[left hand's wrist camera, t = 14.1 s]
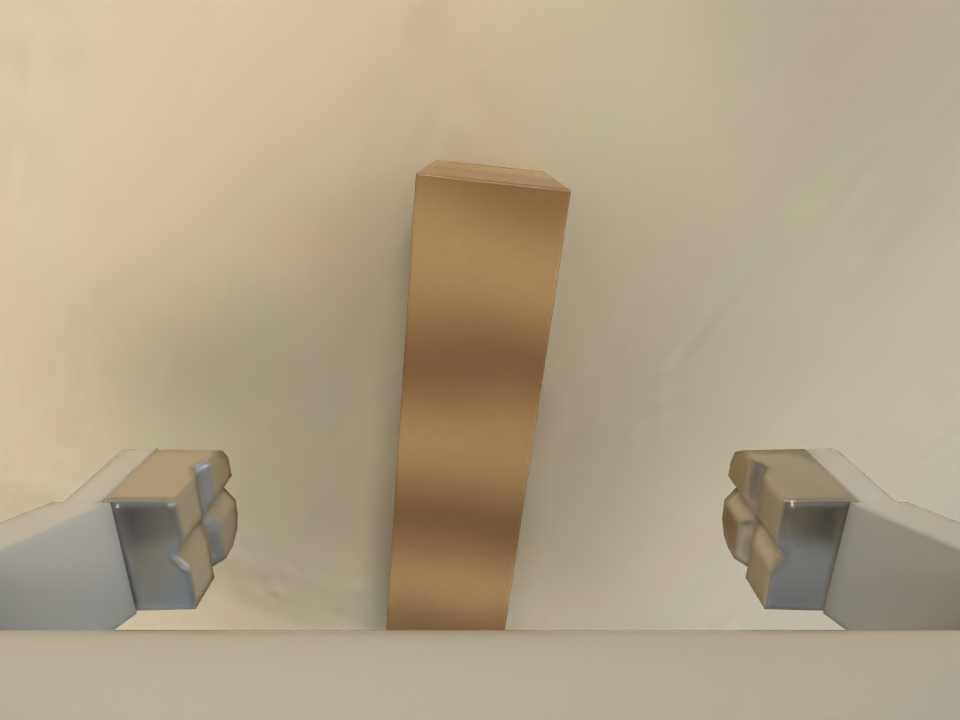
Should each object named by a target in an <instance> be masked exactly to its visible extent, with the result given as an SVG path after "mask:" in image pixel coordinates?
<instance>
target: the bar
mask: <svg viewBox="0 0 960 720" xmlns="http://www.w3.org/2000/svg"><path fill="white" fill-rule="evenodd" d="M570 193H571V191H570V189H568V188H567V187H565V186H564V185H562V184H561V183H559V182H558V181H556V180H555V179H553V178H552V177H550V176H549V175H548V174H546V173H545V172H540V171H531V170H521V169H512V168H503V167H494V166H485V165H476V164H466V163H457V162H448V161H439V160H436V161H434V162H433V163H431V164H430V165H428V166H427V167H425V168H424V169H422V170H421V171H420V172H418V173H417V174H416V183H415V199H414V214H413V229H412V245H411V260H410V275H409V291H408V306H407V321H406V337H405V352H404V367H403V383H402V398H401V413H400V429H399V444H398V459H397V474H396V490H395V505H394V520H393V536H392V551H391V566H390V582H389V597H388V612H387V628H386V630H505V625H506V619H507V612H508V605H509V599H510V592H511V585H512V579H513V572H514V565H515V559H516V552H517V545H518V539H519V532H520V525H521V519H522V512H523V505H524V499H525V492H526V485H527V479H528V472H529V465H530V459H531V452H532V445H533V439H534V432H535V426H536V419H537V412H538V406H539V399H540V392H541V386H542V379H543V372H544V366H545V359H546V352H547V346H548V339H549V332H550V326H551V319H552V312H553V306H554V299H555V292H556V286H557V279H558V272H559V266H560V259H561V252H562V246H563V239H564V232H565V226H566V219H567V212H568V206H569V199H570Z"/></svg>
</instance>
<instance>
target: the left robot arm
mask: <svg viewBox="0 0 960 720" xmlns="http://www.w3.org/2000/svg"><path fill="white" fill-rule="evenodd" d="M231 476H232V475H231V470H230V465H229V460H228V457H227V455H226V454H225V453H224V452H223V451H222V450H171V449H161V450H159V449H130V450H122V451H121V452H120V453H119V454H118V455H116V456H115V457H114V458H113V459H112V460H111V461H110V462H109V463H107V464H106V465H105V466H104V467H103V468H102V469H101V470H99V471H98V472H97V473H96V474H95V475H94V476H93V477H91V478H90V479H89V480H88V481H87V482H86V483H85V484H83V485H82V486H81V487H80V488H79V489H78V490H77V491H76V492H74V493H73V494H72V495H71V496H70V497H69V498H68V499H66V500H65V501H64V502H52V503H50V504H47V505H45V506H42V507H40V508H37V509H34V510H32V511H29V512H27V513H24V514H22V515H19V516H17V517H14V518H12V519H9V520H6V521H4V522H1V523H0V720H960V523H959V522H956V521H953V520H951V519H948V518H946V517H943V516H941V515H938V514H936V513H933V512H931V511H928V510H926V509H923V508H920V507H918V506H915V505H913V504H910V503H908V502H896V501H895V500H894V499H893V498H891V497H890V496H889V495H888V494H887V493H886V492H885V491H883V490H882V489H881V488H880V487H879V486H878V485H877V484H875V483H874V482H873V481H872V480H871V479H870V478H869V477H868V476H866V475H865V474H864V473H863V472H862V471H861V470H860V469H858V468H857V467H856V466H855V465H854V464H853V463H852V462H851V461H849V460H848V459H847V458H846V457H845V456H844V455H843V454H841V453H840V452H839V451H837V450H834V449H830V448H829V449H807V450H804V449H786V450H744V451H738V452H735V453H734V456H733V458H732V460H731V464H730V469H729V475H728V476H729V477H730V479H731V480H732V482H733V483H734V485H735V487H736V488H735V489H734V490H733V491H732V493H731V494H730V495H729V496H728V497H727V498H726V499H725V500H724V509H723V517H722V520H723V530H724V537H725V540H726V543H727V546H728V548H729V550H730V552H731V554H732V555H733V557H734V558H735V559H736V560H738V561H739V562H741V563H743V564H744V565H746V566H748V568H747V574H746V579H747V581H748V582H749V584H750V586H751V587H752V589H753V591H754V592H755V594H756V595H757V597H758V599H759V600H760V602H761V604H762V605H763V607H764V609H784V610H821V611H824V612H823V613H824V614H825V615H827V616H828V617H829V618H831V619H832V620H833V621H835V622H836V623H837V624H839V625H840V626H842V627H843V628H844V629H846V630H115V629H116V628H117V627H119V626H120V625H121V624H123V623H124V622H125V621H127V620H128V619H130V618H131V617H132V616H134V615H135V614H136V613H137V612H136V611H139V610H174V609H196V607H197V605H198V604H199V602H200V601H201V599H202V597H203V596H204V594H205V592H206V591H207V589H208V587H209V586H210V584H211V582H212V581H213V579H214V574H213V568H212V566H214V565H216V564H217V563H219V562H221V561H222V560H224V559H225V558H226V557H227V555H228V553H229V552H230V550H231V548H232V546H233V543H234V539H235V535H236V531H237V507H236V500H235V499H234V498H233V497H232V496H231V495H230V494H229V493H228V491H227V490H226V489H225V488H224V487H225V485H226V483H227V482H228V480H229V479H230V477H231Z"/></svg>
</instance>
